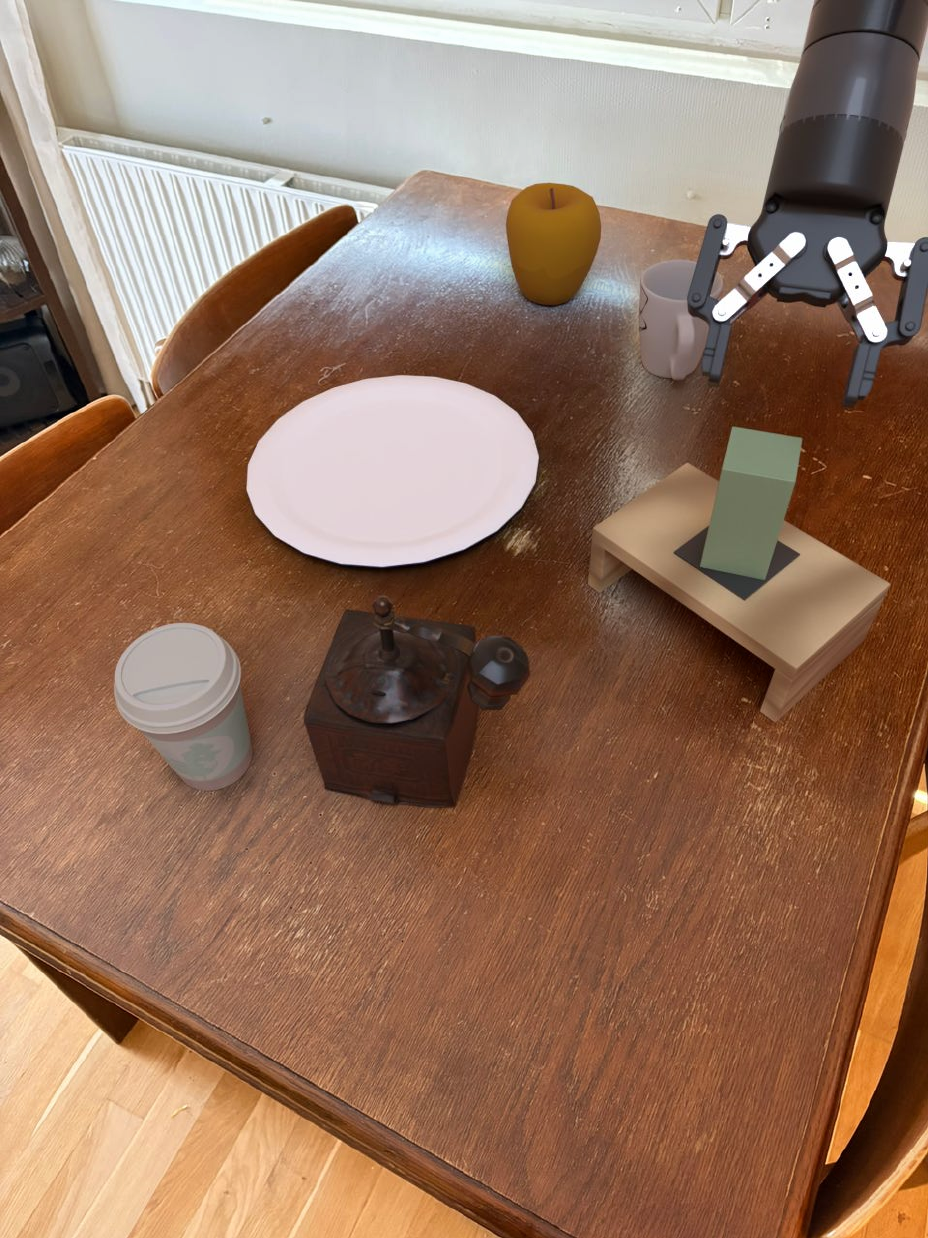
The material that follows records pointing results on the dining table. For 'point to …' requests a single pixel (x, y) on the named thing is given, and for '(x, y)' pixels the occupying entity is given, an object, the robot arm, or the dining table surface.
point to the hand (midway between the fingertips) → (779, 395)
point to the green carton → (751, 502)
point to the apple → (552, 240)
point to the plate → (392, 471)
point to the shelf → (743, 584)
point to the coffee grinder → (406, 704)
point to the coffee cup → (187, 702)
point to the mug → (671, 319)
